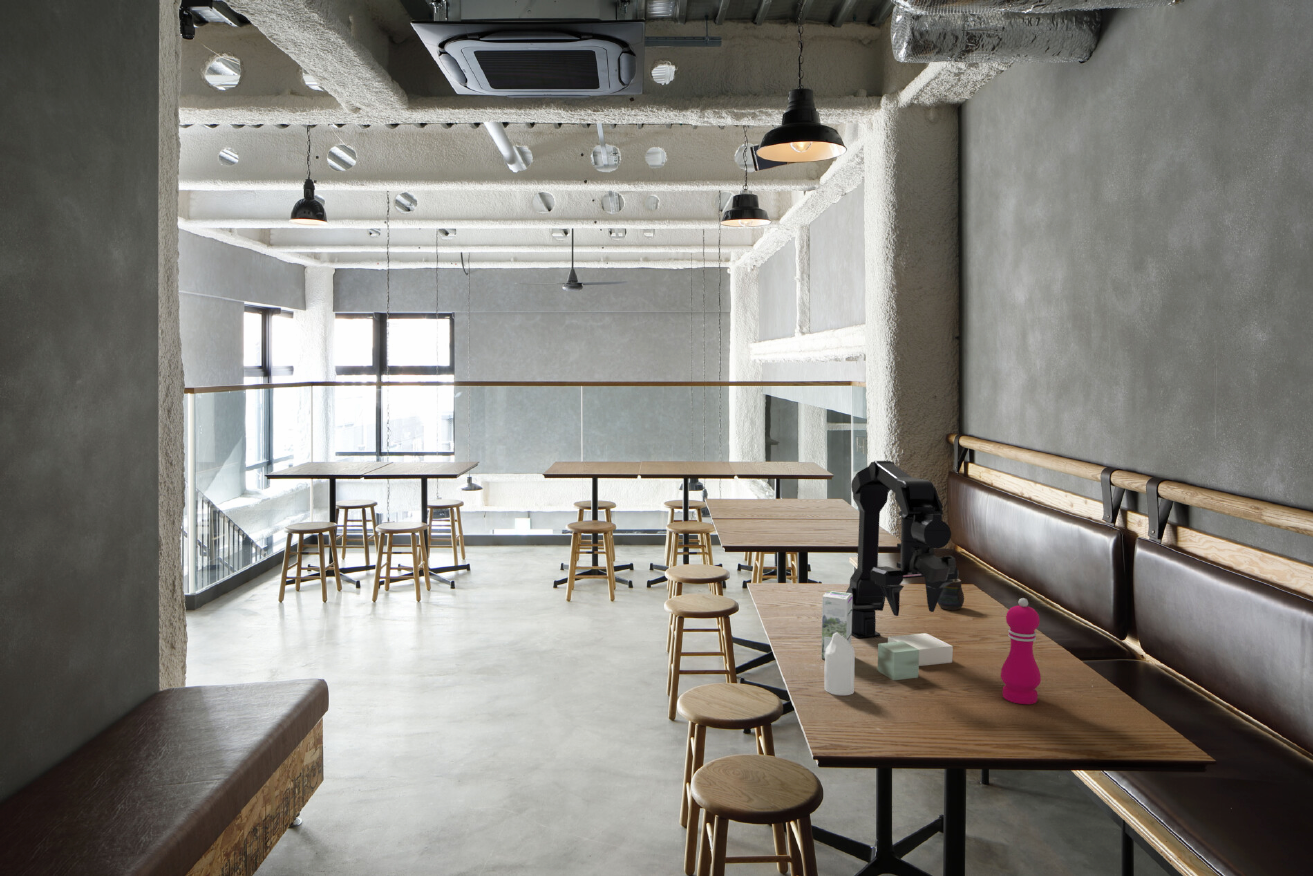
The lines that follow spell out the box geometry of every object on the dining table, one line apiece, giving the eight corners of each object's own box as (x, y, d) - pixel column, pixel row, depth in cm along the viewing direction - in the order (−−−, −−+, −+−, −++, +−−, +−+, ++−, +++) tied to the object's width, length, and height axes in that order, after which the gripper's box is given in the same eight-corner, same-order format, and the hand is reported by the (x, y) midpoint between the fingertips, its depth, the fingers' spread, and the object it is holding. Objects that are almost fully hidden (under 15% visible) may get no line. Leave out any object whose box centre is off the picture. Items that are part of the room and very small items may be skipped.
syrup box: (851, 655, 189) (853, 592, 188) (846, 663, 184) (847, 598, 183) (826, 651, 192) (828, 589, 191) (820, 659, 186) (821, 595, 185)
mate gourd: (933, 609, 228) (933, 573, 228) (939, 603, 235) (940, 568, 234) (960, 613, 224) (961, 576, 224) (966, 607, 231) (967, 571, 230)
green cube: (877, 671, 179) (878, 643, 179) (901, 668, 181) (902, 641, 181) (893, 680, 173) (894, 652, 173) (918, 677, 175) (919, 649, 175)
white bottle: (859, 631, 167) (849, 638, 162) (858, 689, 168) (847, 698, 163) (831, 626, 170) (820, 633, 166) (830, 683, 171) (819, 691, 167)
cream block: (887, 653, 192) (888, 636, 191) (925, 650, 194) (925, 633, 194) (912, 668, 182) (913, 650, 182) (952, 663, 185) (952, 646, 185)
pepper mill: (1037, 708, 159) (1041, 605, 157) (996, 700, 163) (1000, 599, 161) (1042, 696, 165) (1046, 596, 164) (1003, 689, 169) (1006, 591, 167)
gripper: (904, 549, 164) (902, 627, 165) (978, 543, 171) (976, 618, 172) (869, 540, 175) (868, 614, 175) (940, 535, 182) (939, 606, 182)
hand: (913, 613), depth 176 cm, fingers open, 9 cm apart
